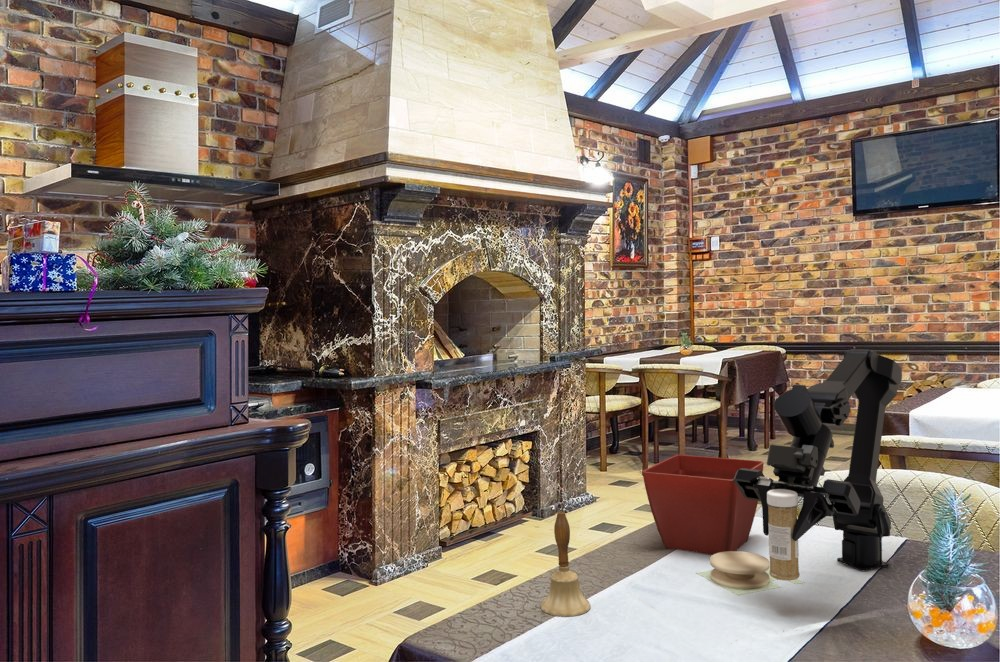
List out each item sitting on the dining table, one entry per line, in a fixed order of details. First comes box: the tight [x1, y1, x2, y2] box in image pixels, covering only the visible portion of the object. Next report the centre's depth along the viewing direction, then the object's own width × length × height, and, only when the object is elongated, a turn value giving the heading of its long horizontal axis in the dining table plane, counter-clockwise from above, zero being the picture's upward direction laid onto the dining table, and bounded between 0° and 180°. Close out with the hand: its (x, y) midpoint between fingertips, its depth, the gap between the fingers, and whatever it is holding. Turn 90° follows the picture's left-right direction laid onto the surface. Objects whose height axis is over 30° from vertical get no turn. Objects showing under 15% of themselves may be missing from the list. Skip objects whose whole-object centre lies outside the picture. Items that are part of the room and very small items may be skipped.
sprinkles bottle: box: [767, 489, 801, 582], centre depth 123 cm, size 5×5×13 cm
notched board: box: [695, 567, 806, 596], centre depth 139 cm, size 14×12×1 cm
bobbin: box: [709, 550, 770, 590], centre depth 138 cm, size 10×10×3 cm
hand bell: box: [540, 511, 591, 618], centre depth 130 cm, size 8×8×16 cm
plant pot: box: [642, 454, 765, 556], centre depth 159 cm, size 19×19×17 cm
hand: (779, 536), depth 122 cm, fingers closed on sprinkles bottle, 4 cm apart
